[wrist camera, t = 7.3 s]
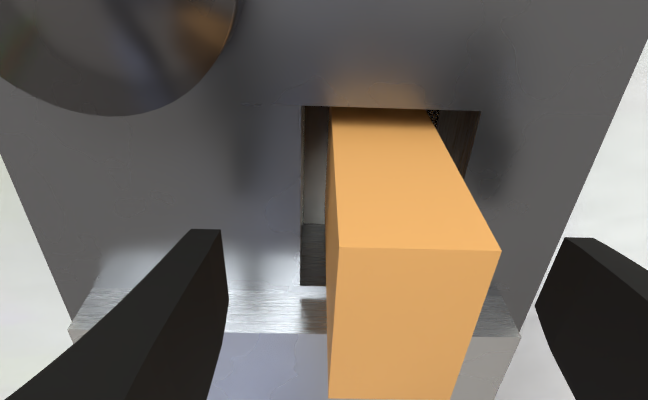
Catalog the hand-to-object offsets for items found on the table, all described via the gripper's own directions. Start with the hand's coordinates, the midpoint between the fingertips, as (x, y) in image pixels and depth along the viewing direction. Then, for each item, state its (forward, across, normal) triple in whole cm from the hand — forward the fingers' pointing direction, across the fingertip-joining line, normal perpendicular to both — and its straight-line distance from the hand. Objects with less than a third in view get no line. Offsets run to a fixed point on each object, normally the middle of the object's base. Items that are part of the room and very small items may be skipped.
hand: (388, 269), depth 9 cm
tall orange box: (+5, 0, 0) cm, 5 cm away
